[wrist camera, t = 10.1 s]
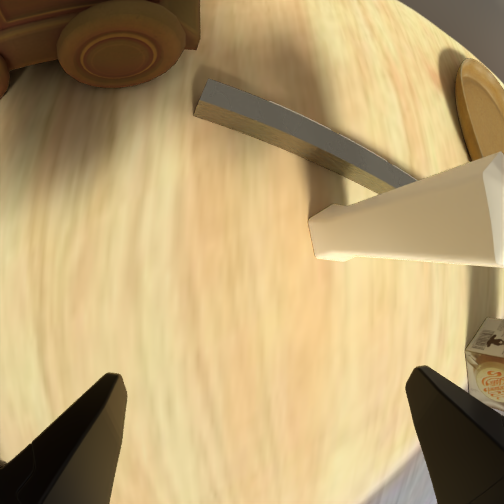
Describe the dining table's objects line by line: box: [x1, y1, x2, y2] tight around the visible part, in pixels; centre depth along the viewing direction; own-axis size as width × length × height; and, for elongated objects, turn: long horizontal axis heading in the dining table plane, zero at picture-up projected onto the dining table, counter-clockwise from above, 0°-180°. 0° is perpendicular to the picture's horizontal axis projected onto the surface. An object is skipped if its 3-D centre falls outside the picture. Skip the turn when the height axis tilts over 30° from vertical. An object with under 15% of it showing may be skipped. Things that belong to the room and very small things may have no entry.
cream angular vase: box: [308, 151, 504, 268], centre depth 12 cm, size 5×4×15 cm
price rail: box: [193, 79, 418, 194], centre depth 19 cm, size 2×22×2 cm, turn 75°
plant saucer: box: [455, 58, 504, 161], centre depth 29 cm, size 24×24×3 cm
